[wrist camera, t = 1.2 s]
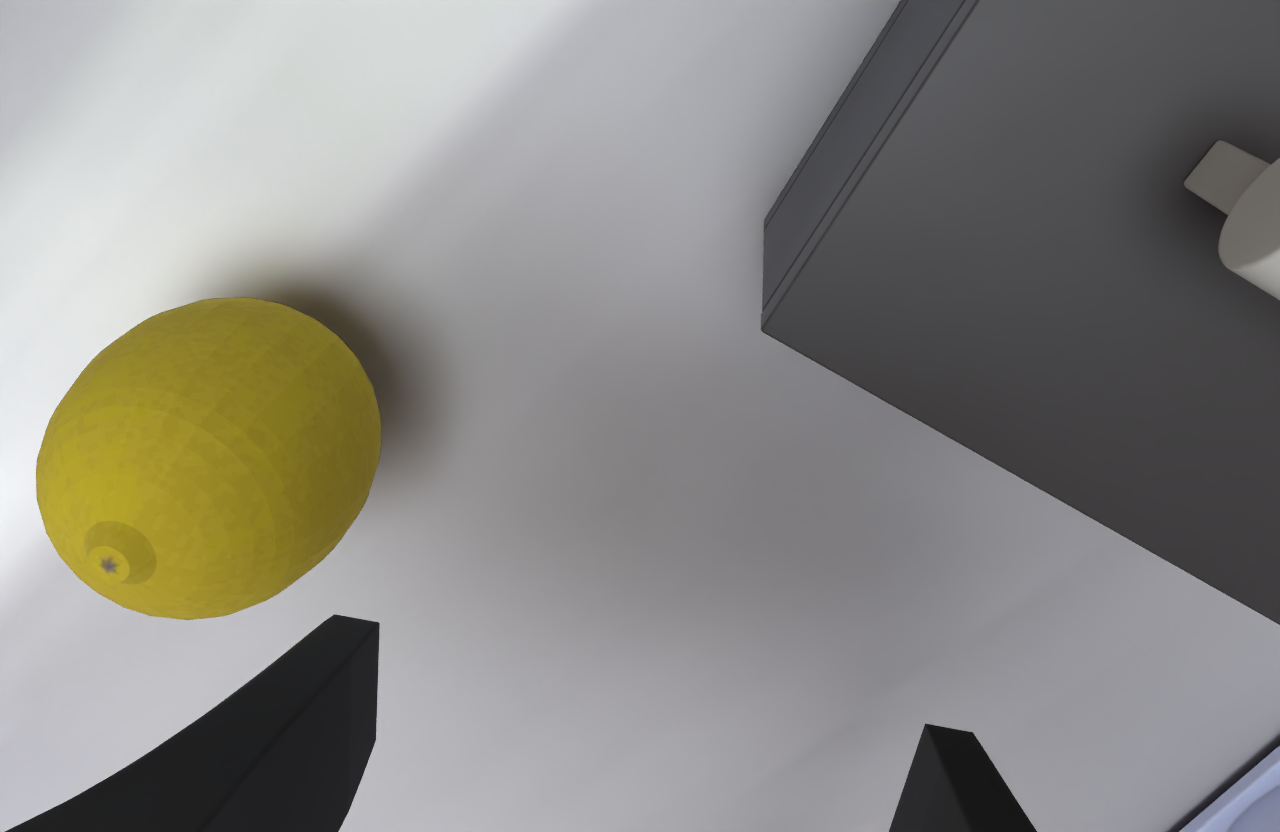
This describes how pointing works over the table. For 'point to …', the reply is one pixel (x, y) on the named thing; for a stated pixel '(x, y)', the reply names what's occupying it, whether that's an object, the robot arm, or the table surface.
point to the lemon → (209, 458)
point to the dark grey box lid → (1079, 267)
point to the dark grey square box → (851, 131)
